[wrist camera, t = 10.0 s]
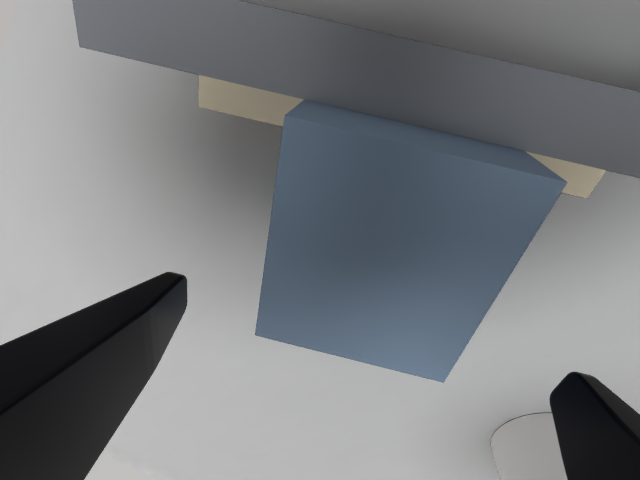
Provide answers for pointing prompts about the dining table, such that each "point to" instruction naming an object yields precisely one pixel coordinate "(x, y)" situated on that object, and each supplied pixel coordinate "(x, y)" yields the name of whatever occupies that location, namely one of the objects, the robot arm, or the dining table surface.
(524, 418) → the cylindrical container
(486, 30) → the dining table surface
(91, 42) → the wall board
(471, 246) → the blue block
